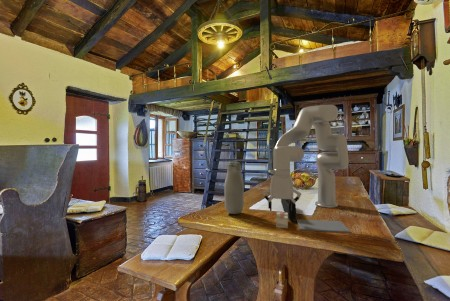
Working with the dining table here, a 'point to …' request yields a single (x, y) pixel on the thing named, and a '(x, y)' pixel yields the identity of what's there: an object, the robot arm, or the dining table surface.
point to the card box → (282, 220)
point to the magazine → (288, 208)
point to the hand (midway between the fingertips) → (281, 210)
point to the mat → (322, 226)
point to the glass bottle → (234, 188)
